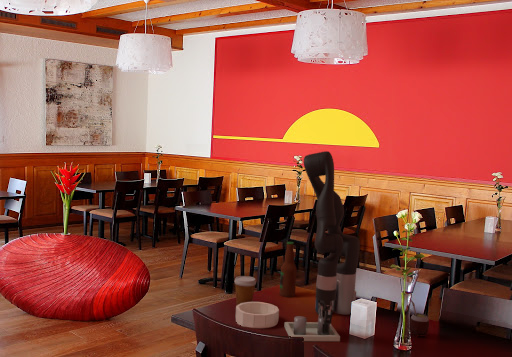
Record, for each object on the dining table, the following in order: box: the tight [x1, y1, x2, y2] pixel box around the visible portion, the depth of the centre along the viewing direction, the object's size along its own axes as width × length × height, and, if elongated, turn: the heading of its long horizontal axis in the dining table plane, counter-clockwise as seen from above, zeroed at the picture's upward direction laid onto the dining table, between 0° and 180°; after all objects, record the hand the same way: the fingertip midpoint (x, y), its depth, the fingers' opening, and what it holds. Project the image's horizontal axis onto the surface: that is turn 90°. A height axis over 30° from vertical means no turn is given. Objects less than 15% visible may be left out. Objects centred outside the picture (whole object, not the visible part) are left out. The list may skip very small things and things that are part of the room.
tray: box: [283, 321, 341, 342], centre depth 216 cm, size 18×15×2 cm
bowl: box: [235, 301, 280, 329], centre depth 227 cm, size 17×17×6 cm
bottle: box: [279, 241, 297, 298], centre depth 265 cm, size 7×7×25 cm
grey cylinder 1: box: [293, 315, 308, 335], centre depth 215 cm, size 5×5×6 cm
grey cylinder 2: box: [317, 315, 330, 335], centre depth 216 cm, size 5×5×6 cm
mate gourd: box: [409, 299, 430, 336], centre depth 221 cm, size 8×8×15 cm
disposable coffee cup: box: [234, 275, 257, 306], centre depth 246 cm, size 10×10×12 cm
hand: (323, 330), depth 217 cm, fingers closed on grey cylinder 2, 4 cm apart
